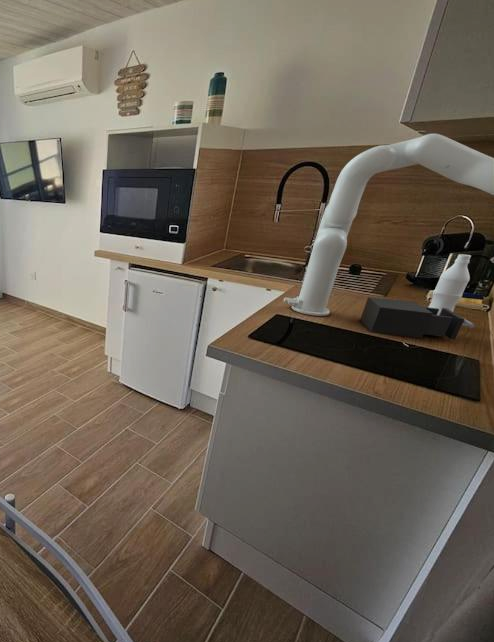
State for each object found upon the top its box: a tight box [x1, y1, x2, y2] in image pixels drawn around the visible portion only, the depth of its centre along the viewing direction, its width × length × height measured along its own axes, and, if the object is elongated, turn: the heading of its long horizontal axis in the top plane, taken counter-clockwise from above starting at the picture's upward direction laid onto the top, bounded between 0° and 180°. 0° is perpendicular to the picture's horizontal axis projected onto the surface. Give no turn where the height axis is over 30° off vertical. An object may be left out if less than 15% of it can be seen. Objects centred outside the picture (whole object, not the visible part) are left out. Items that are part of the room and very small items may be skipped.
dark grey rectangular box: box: [359, 296, 433, 339], centre depth 129 cm, size 14×12×9 cm
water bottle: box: [428, 253, 472, 315], centre depth 132 cm, size 7×7×25 cm
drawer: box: [423, 306, 476, 341], centre depth 125 cm, size 17×11×7 cm, turn 66°
